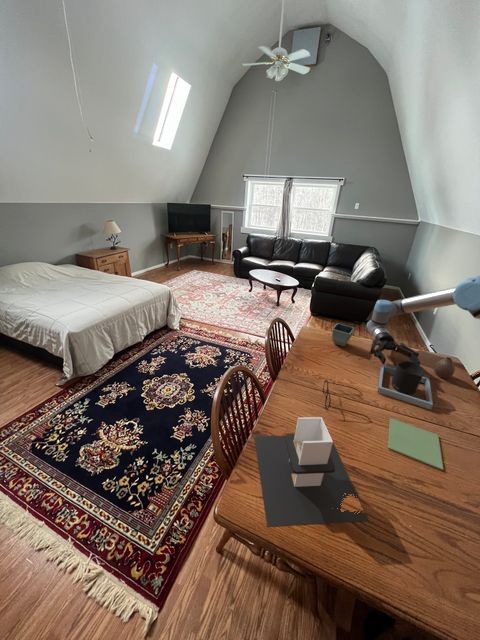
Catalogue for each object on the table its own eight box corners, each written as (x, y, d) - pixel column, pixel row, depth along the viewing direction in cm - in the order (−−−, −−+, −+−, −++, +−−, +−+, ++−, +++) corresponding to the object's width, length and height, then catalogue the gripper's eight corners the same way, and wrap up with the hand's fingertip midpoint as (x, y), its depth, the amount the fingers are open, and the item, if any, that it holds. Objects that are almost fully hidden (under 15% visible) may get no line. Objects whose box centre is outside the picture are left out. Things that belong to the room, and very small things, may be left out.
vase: (449, 382, 113) (458, 365, 109) (430, 375, 117) (438, 358, 113) (452, 375, 118) (460, 358, 114) (433, 368, 122) (440, 352, 118)
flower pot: (328, 344, 138) (332, 328, 134) (334, 337, 145) (337, 322, 141) (346, 349, 134) (350, 334, 130) (350, 342, 140) (354, 327, 136)
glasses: (322, 387, 107) (325, 377, 104) (360, 396, 105) (364, 386, 103) (325, 413, 94) (330, 402, 92) (369, 424, 92) (374, 413, 90)
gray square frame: (427, 383, 112) (429, 378, 111) (430, 410, 98) (433, 404, 96) (380, 369, 120) (381, 364, 118) (376, 392, 105) (378, 387, 104)
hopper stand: (254, 436, 83) (257, 395, 76) (329, 434, 85) (339, 394, 78) (267, 526, 61) (274, 480, 54) (369, 520, 63) (388, 475, 56)
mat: (437, 436, 87) (438, 434, 86) (442, 470, 76) (443, 469, 75) (389, 418, 93) (390, 417, 92) (387, 448, 81) (388, 447, 81)
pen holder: (387, 378, 114) (394, 358, 109) (412, 382, 112) (420, 363, 107) (392, 392, 105) (400, 371, 101) (419, 397, 103) (428, 376, 99)
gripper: (407, 347, 131) (429, 373, 112) (355, 342, 133) (368, 367, 114) (412, 334, 128) (436, 358, 109) (358, 329, 130) (372, 352, 111)
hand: (401, 363), depth 111 cm, fingers open, 13 cm apart
